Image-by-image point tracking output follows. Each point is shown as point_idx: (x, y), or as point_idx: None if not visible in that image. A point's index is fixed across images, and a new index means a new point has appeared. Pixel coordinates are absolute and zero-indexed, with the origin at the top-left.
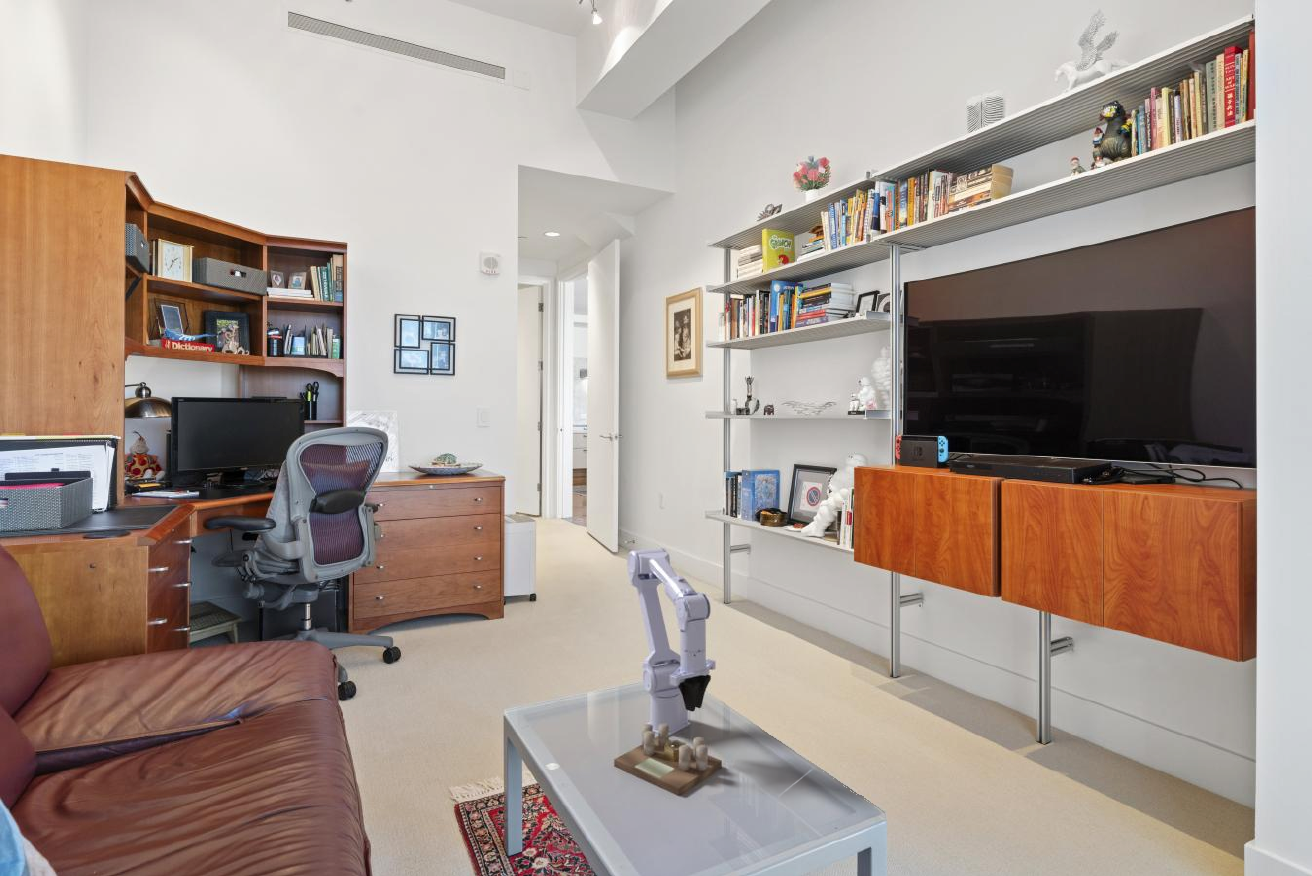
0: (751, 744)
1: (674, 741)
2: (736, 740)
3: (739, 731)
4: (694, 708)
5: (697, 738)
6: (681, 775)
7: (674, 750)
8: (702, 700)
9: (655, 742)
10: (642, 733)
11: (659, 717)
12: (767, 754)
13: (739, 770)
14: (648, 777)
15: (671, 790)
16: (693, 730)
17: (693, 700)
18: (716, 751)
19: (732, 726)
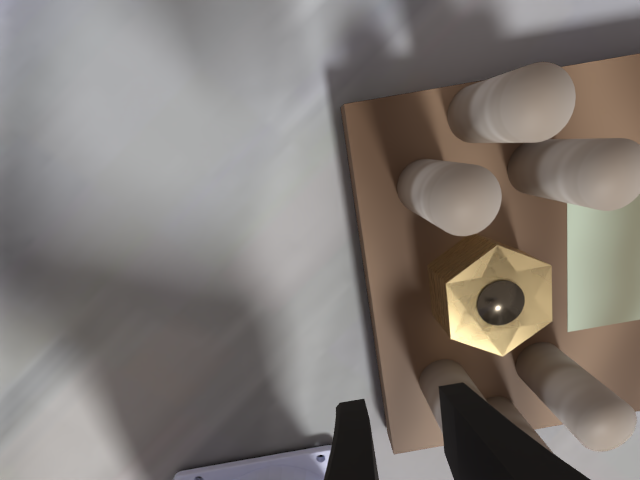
0: (55, 183)
1: (474, 333)
2: (93, 257)
3: (20, 311)
4: (459, 396)
5: (462, 217)
6: (594, 127)
7: (546, 263)
8: (342, 445)
9: None
10: None
11: None
12: (51, 54)
13: (286, 36)
14: None
15: None
16: (198, 430)
17: (552, 456)
18: (245, 239)
19: (18, 363)
